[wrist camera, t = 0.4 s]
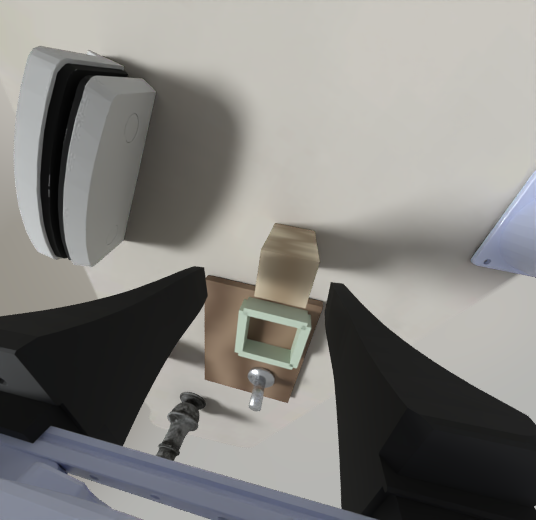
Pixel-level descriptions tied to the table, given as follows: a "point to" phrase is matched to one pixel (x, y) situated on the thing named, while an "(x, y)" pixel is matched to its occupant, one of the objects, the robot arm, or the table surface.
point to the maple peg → (287, 265)
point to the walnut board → (224, 338)
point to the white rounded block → (78, 151)
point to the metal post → (259, 385)
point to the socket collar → (277, 315)
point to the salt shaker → (181, 424)
